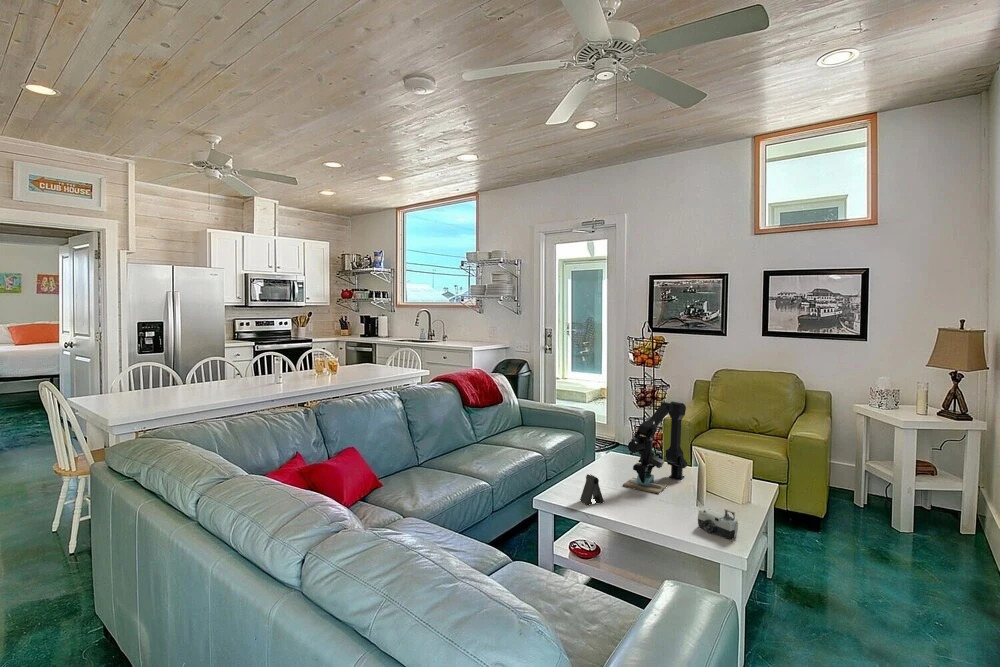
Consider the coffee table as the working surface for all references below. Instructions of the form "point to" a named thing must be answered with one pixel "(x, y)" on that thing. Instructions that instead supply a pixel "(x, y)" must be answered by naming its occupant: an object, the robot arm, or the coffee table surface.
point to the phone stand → (591, 490)
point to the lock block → (646, 480)
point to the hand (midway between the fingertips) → (645, 481)
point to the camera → (718, 523)
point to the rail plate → (653, 487)
